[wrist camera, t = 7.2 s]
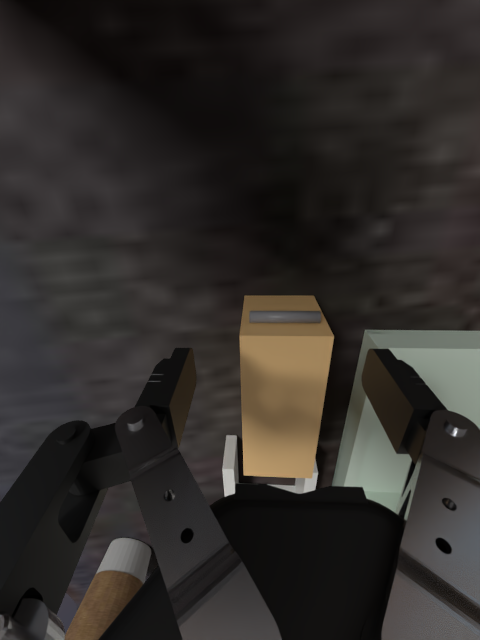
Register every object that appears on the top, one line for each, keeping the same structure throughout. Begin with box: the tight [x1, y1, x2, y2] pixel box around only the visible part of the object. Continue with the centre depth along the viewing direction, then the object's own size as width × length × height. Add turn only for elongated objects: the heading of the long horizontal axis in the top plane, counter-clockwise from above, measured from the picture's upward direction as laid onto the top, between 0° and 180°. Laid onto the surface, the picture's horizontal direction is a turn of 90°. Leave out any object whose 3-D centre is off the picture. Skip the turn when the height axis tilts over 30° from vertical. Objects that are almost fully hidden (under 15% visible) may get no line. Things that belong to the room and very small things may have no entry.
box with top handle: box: [240, 296, 334, 479], centre depth 19 cm, size 13×5×6 cm, turn 1°
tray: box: [332, 330, 480, 512], centre depth 23 cm, size 20×14×2 cm
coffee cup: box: [64, 538, 151, 640], centre depth 31 cm, size 8×8×15 cm
